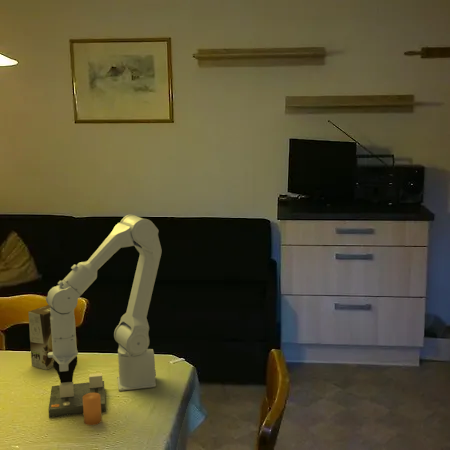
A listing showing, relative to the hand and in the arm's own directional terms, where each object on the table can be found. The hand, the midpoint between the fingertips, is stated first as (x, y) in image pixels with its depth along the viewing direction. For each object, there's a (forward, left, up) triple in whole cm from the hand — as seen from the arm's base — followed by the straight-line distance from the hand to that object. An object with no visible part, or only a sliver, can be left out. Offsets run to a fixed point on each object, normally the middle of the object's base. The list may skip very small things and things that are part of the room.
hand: (67, 387), depth 151 cm
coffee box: (+5, -26, -3) cm, 26 cm away
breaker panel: (-3, +2, -3) cm, 5 cm away
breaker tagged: (0, +2, -1) cm, 2 cm away
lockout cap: (-6, +12, -3) cm, 14 cm away
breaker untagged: (-7, -2, -1) cm, 7 cm away
